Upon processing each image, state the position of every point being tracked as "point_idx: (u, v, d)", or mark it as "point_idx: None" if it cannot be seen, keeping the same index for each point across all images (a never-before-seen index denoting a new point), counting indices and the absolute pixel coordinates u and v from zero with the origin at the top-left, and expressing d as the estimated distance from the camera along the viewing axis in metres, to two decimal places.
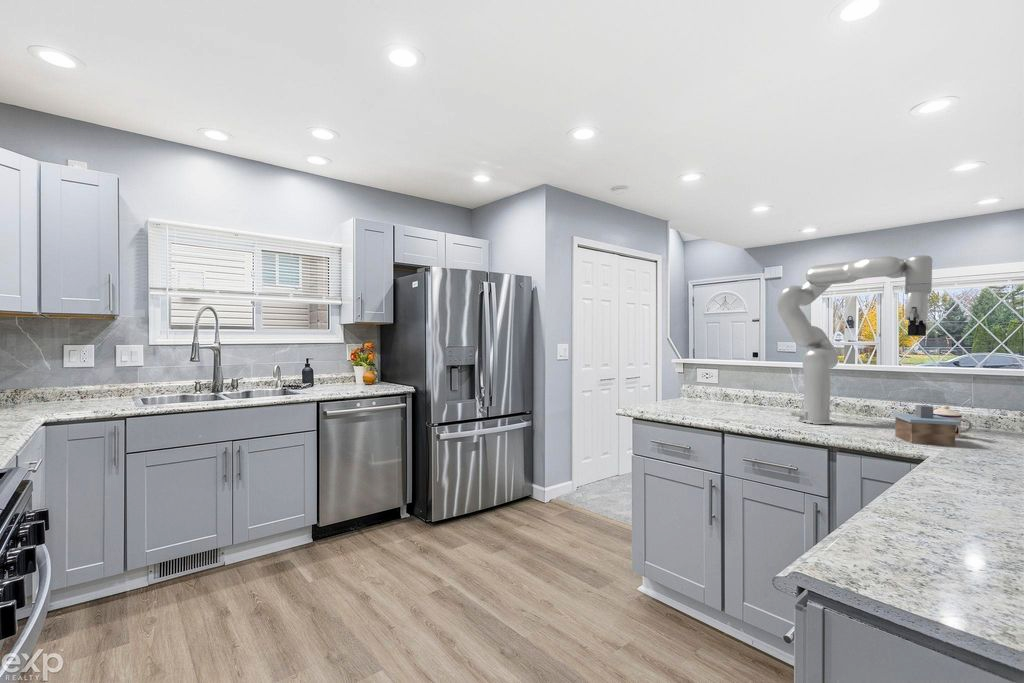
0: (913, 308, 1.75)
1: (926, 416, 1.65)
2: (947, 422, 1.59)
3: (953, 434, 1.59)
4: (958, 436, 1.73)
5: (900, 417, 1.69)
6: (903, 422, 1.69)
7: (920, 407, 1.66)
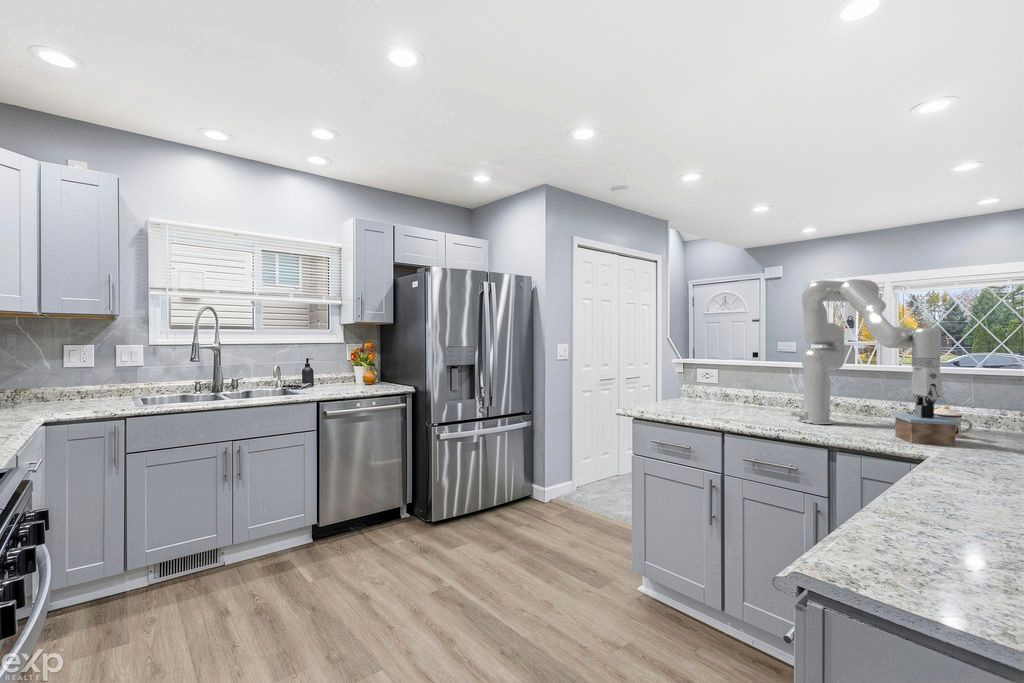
0: None
1: None
2: (947, 422, 1.59)
3: (953, 434, 1.59)
4: (958, 436, 1.73)
5: (900, 417, 1.69)
6: (903, 422, 1.69)
7: (920, 407, 1.66)
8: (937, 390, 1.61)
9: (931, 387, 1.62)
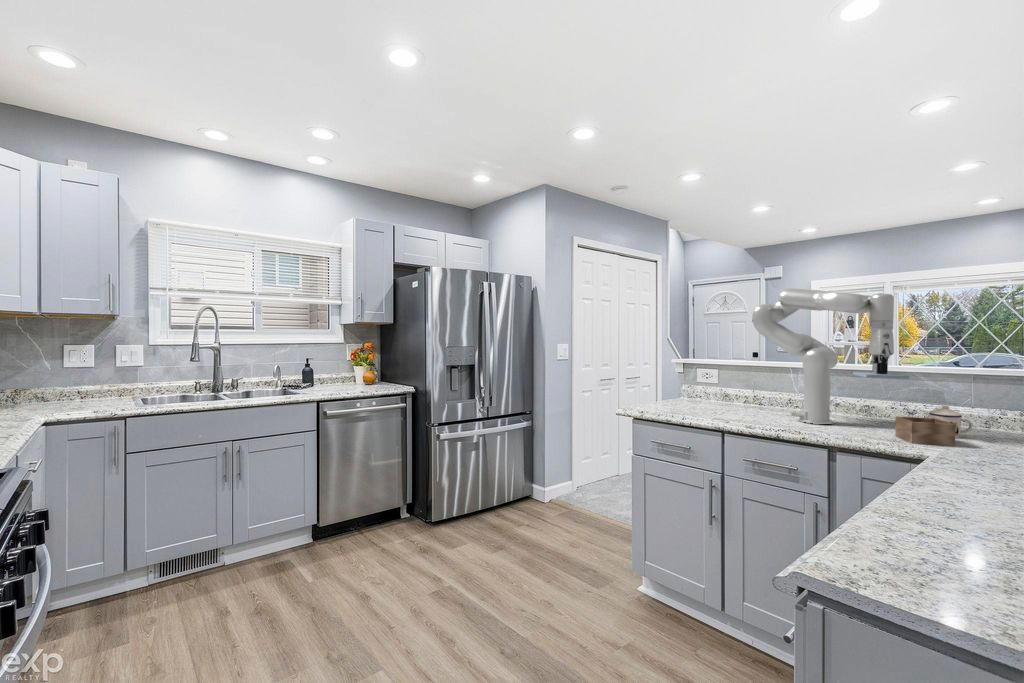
0: None
1: None
2: (898, 376, 1.80)
3: (953, 434, 1.59)
4: (958, 436, 1.73)
5: (859, 374, 1.90)
6: (903, 422, 1.69)
7: (876, 364, 1.87)
8: (890, 348, 1.82)
9: (884, 346, 1.83)
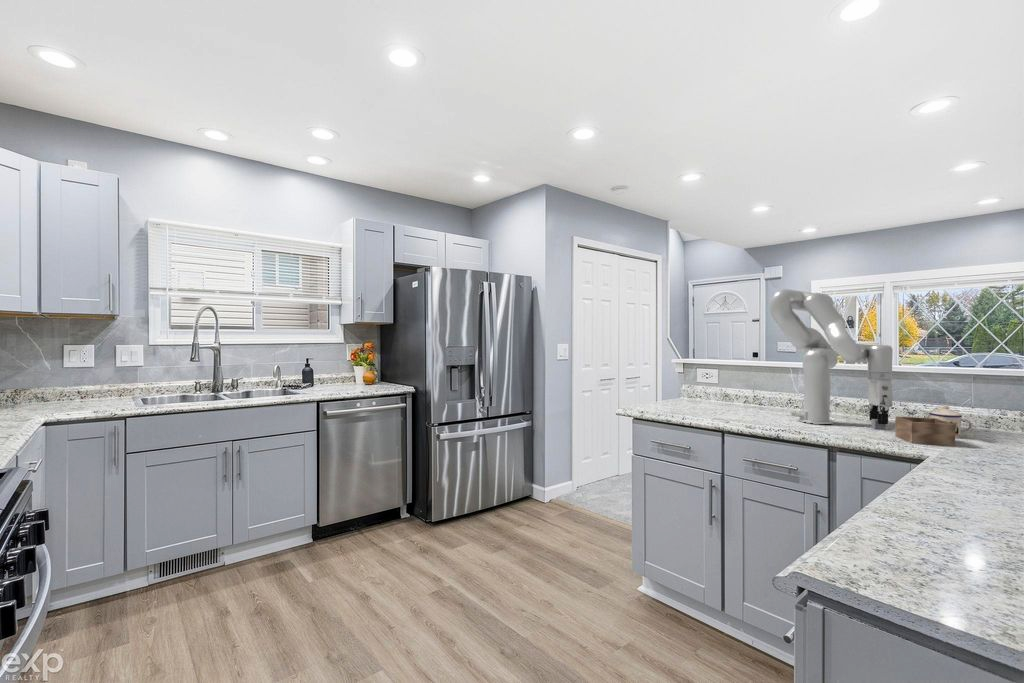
0: None
1: (879, 429, 1.86)
2: None
3: (953, 434, 1.59)
4: (958, 436, 1.73)
5: None
6: (903, 422, 1.69)
7: (874, 421, 1.87)
8: (888, 400, 1.82)
9: (883, 397, 1.83)
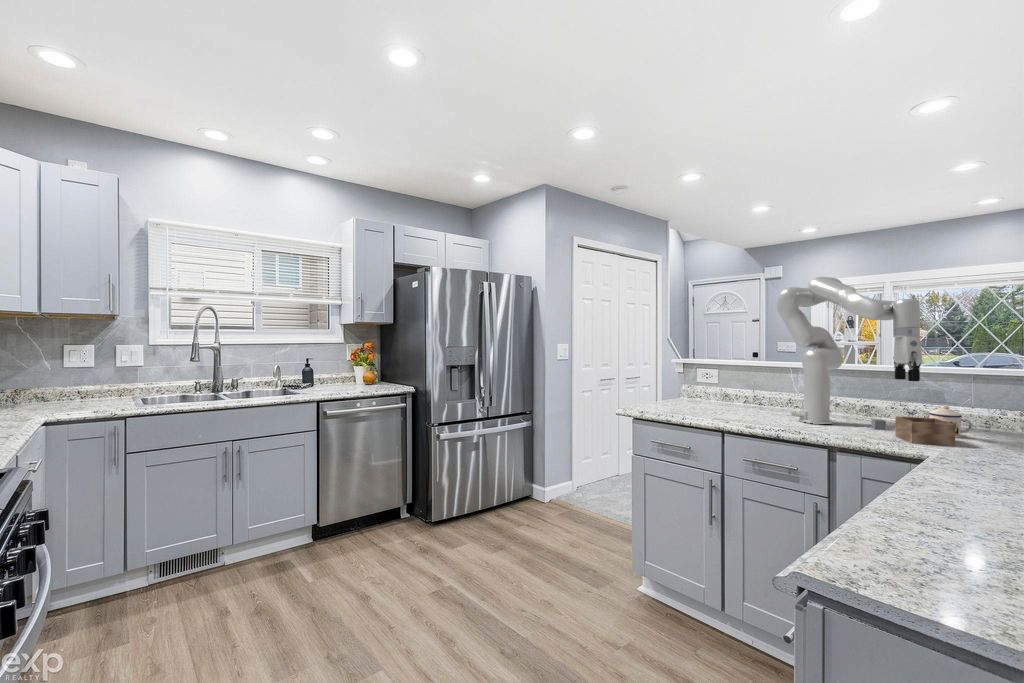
0: None
1: (879, 429, 1.86)
2: None
3: (953, 434, 1.59)
4: (958, 436, 1.73)
5: None
6: (903, 422, 1.69)
7: (874, 421, 1.87)
8: None
9: (912, 352, 1.70)
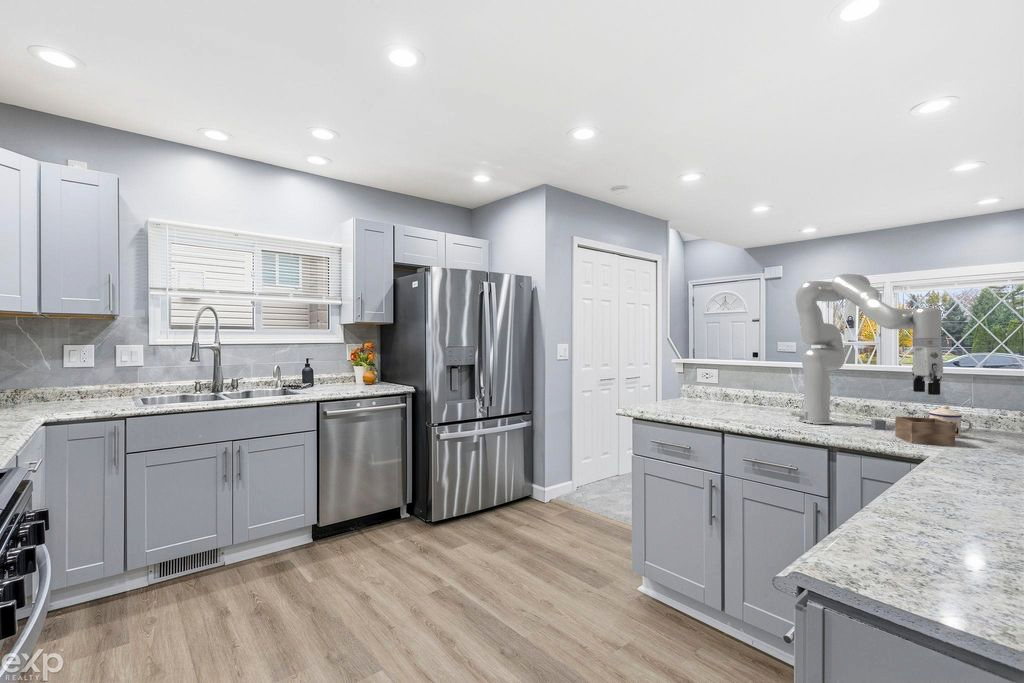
0: None
1: (879, 429, 1.86)
2: None
3: (953, 434, 1.59)
4: (958, 436, 1.73)
5: None
6: (903, 422, 1.69)
7: (874, 421, 1.87)
8: None
9: (933, 364, 1.61)
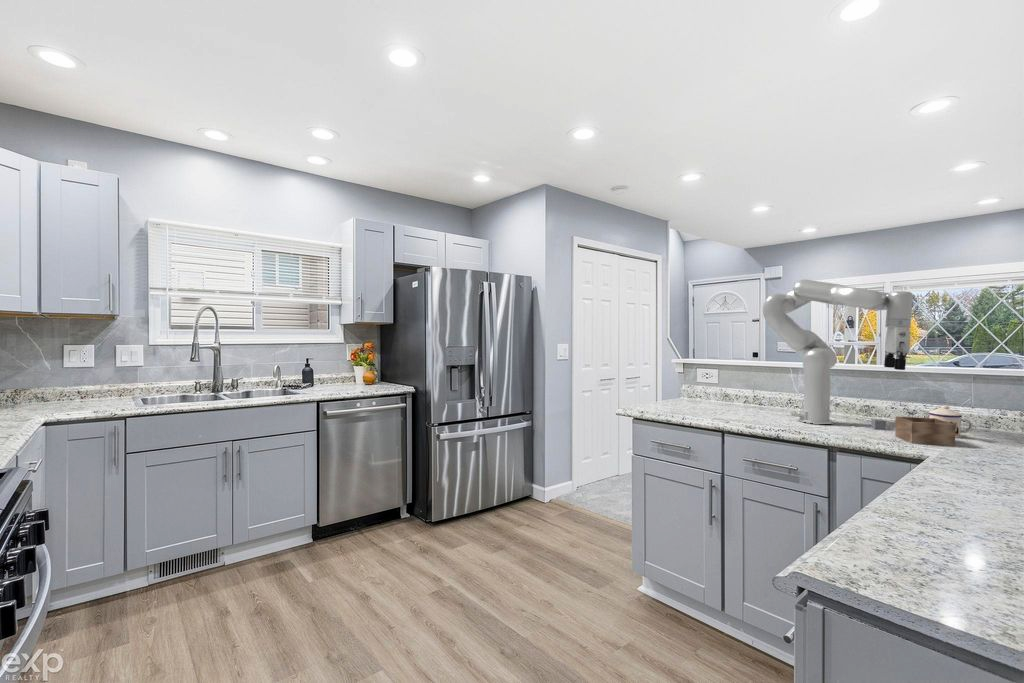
0: None
1: (879, 429, 1.86)
2: None
3: (953, 434, 1.59)
4: (958, 436, 1.73)
5: None
6: (903, 422, 1.69)
7: (874, 421, 1.87)
8: None
9: (900, 342, 1.80)
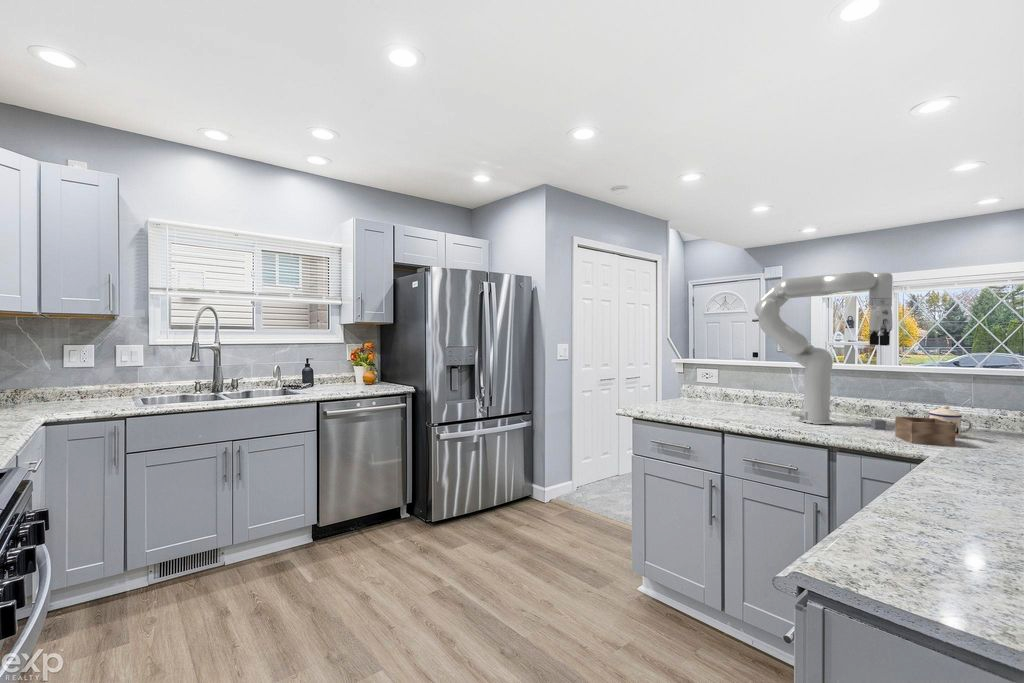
0: None
1: (879, 429, 1.86)
2: None
3: (953, 434, 1.59)
4: (958, 436, 1.73)
5: None
6: (903, 422, 1.69)
7: (874, 421, 1.87)
8: None
9: (884, 320, 1.93)
